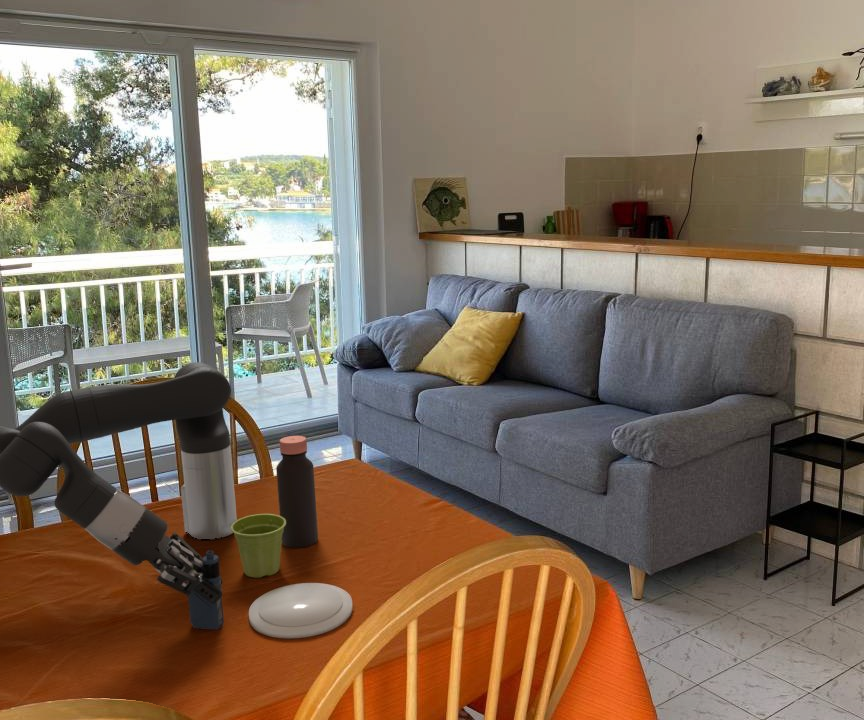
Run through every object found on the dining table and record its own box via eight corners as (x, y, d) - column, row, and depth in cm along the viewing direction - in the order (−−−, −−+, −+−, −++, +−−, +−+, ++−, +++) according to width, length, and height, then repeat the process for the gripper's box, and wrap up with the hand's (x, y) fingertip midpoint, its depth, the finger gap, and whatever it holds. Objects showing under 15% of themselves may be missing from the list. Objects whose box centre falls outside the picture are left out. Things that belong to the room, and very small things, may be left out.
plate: (227, 626, 130) (226, 617, 130) (288, 582, 144) (288, 574, 144) (315, 647, 123) (315, 638, 123) (371, 598, 138) (370, 590, 137)
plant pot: (299, 562, 152) (295, 516, 150) (272, 585, 143) (268, 537, 142) (252, 556, 155) (249, 511, 153) (224, 579, 146) (219, 531, 145)
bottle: (311, 531, 166) (305, 432, 162) (323, 544, 160) (316, 441, 156) (277, 538, 163) (269, 437, 159) (287, 551, 157) (279, 446, 153)
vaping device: (220, 630, 129) (213, 556, 127) (188, 628, 130) (181, 554, 128) (227, 622, 132) (221, 549, 129) (196, 620, 133) (189, 547, 130)
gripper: (115, 528, 132) (203, 590, 137) (102, 566, 118) (201, 633, 123) (147, 491, 132) (235, 555, 137) (138, 525, 119) (235, 594, 124)
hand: (218, 592), depth 130 cm, fingers closed on vaping device, 3 cm apart
